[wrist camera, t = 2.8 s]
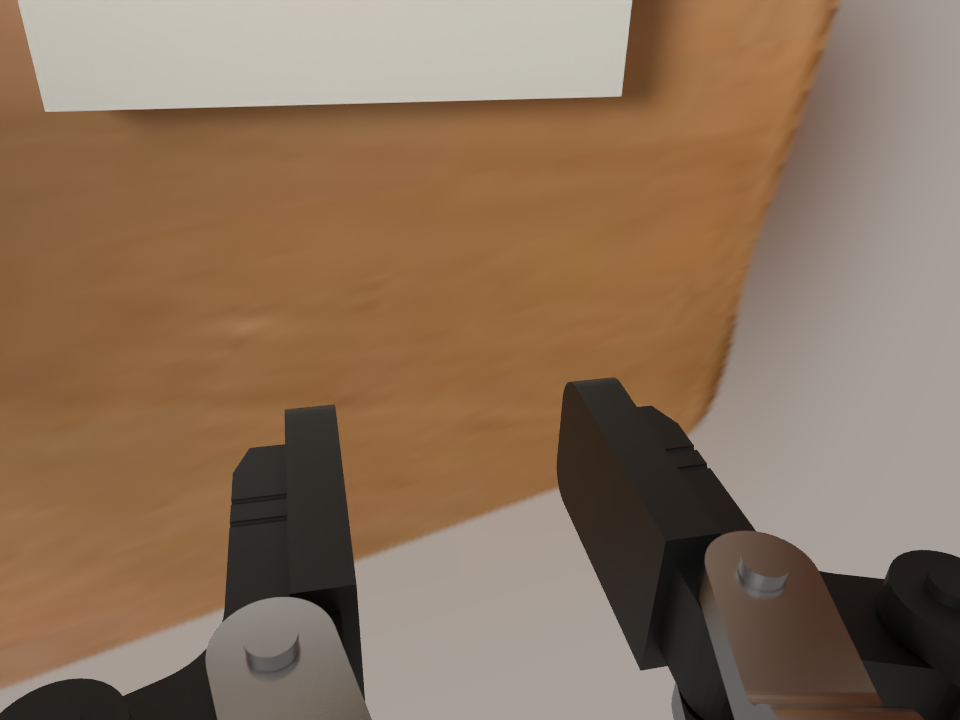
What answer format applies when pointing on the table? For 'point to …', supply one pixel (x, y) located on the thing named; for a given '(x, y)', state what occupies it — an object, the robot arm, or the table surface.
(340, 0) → the hole board
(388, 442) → the table surface
